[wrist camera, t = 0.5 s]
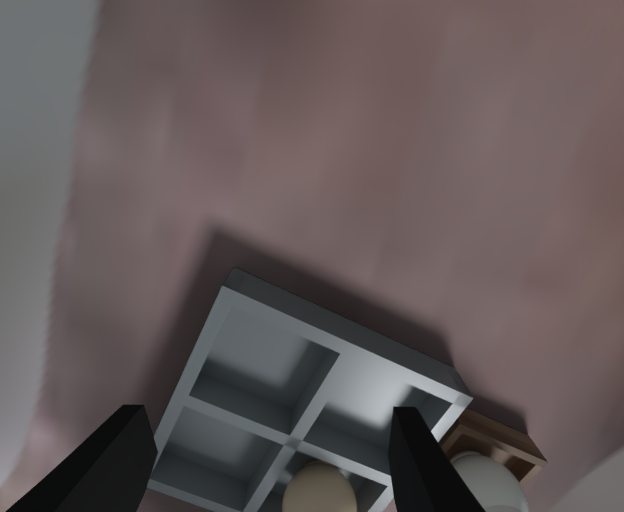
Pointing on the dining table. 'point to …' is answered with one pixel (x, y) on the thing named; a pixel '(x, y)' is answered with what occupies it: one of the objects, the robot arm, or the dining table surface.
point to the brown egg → (319, 490)
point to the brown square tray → (494, 444)
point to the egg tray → (291, 402)
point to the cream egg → (490, 482)
